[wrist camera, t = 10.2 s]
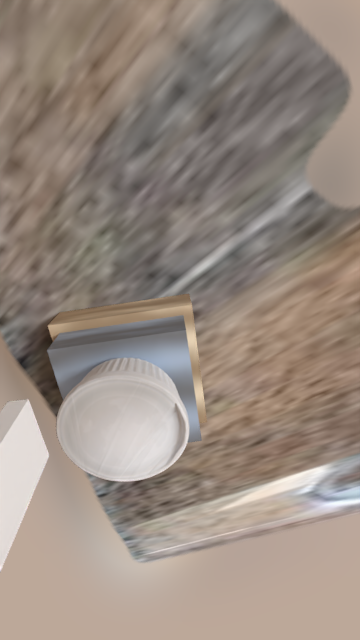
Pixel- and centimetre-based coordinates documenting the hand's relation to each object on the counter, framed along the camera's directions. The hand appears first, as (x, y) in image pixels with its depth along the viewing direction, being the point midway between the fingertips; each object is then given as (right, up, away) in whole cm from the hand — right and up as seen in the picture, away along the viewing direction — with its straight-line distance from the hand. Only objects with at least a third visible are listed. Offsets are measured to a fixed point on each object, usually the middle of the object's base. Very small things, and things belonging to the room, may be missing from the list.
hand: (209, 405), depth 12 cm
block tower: (-7, -2, +27) cm, 28 cm away
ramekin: (-6, -4, +20) cm, 21 cm away
